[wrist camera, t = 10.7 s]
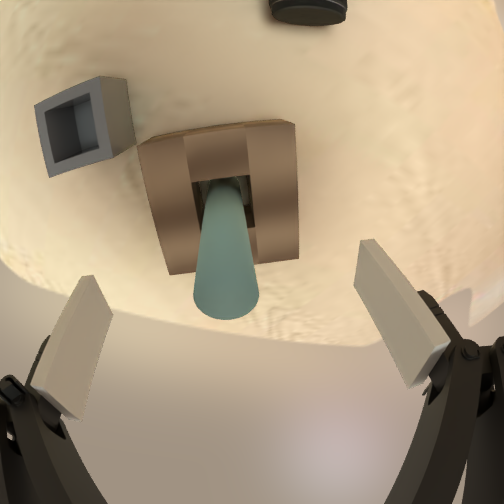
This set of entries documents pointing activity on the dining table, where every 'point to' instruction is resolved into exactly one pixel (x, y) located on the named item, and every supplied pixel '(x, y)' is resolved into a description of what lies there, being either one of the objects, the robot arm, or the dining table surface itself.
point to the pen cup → (85, 124)
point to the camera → (309, 11)
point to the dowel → (225, 255)
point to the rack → (221, 166)
